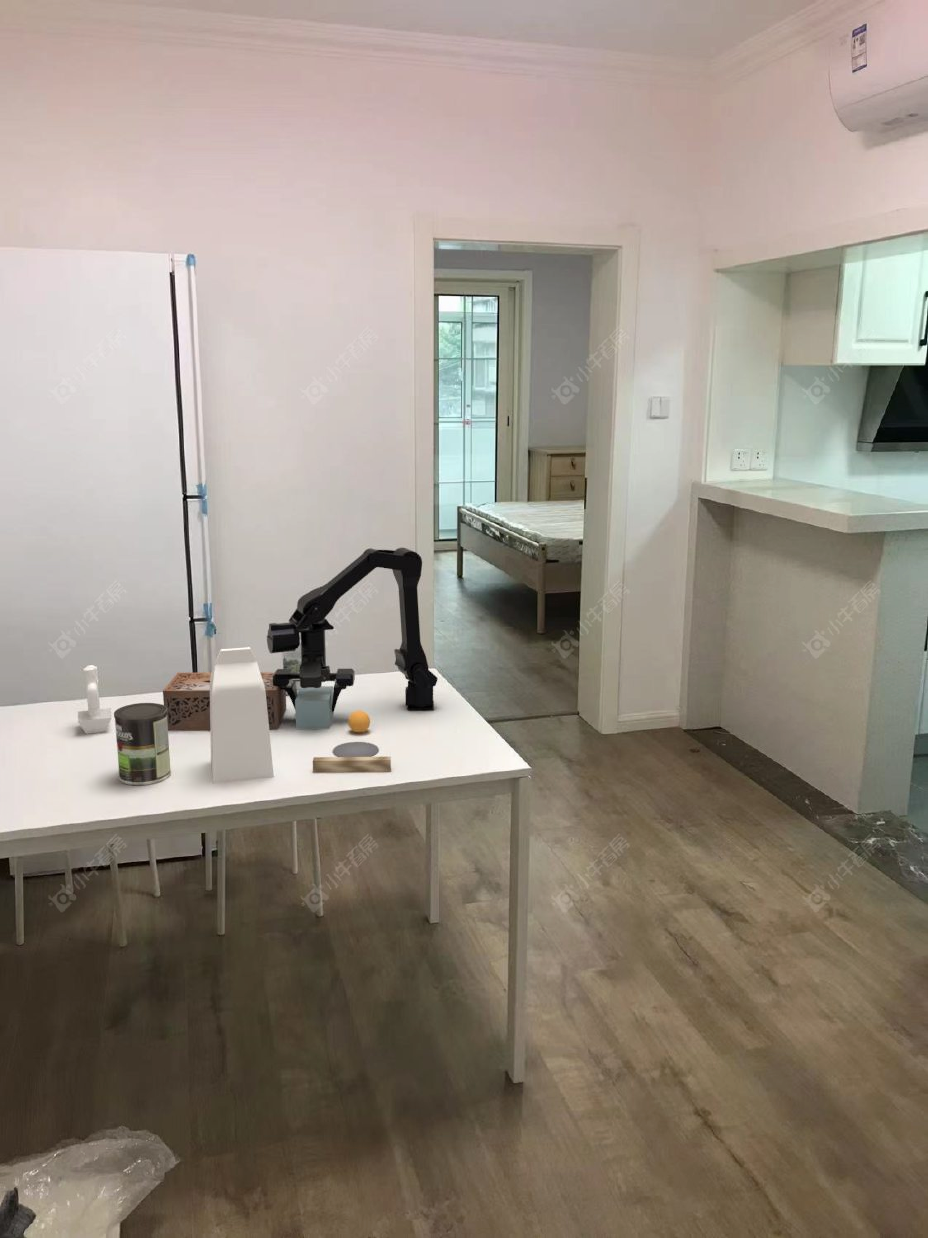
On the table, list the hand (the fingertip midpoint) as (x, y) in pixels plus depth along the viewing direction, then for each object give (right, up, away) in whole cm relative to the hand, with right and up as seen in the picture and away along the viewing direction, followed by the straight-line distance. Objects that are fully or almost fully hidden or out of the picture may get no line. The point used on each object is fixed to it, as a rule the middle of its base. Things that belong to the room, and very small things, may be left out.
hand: (315, 712), depth 237 cm
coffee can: (-30, -10, -33) cm, 45 cm away
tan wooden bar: (+12, -9, -29) cm, 33 cm away
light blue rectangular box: (0, -2, +1) cm, 2 cm away
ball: (+11, -1, -7) cm, 14 cm away
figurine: (-50, -4, -6) cm, 50 cm away
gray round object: (+12, -7, -18) cm, 23 cm away
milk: (-11, -9, -29) cm, 32 cm away
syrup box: (-8, +3, +22) cm, 23 cm away
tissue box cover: (-21, -2, +1) cm, 21 cm away
